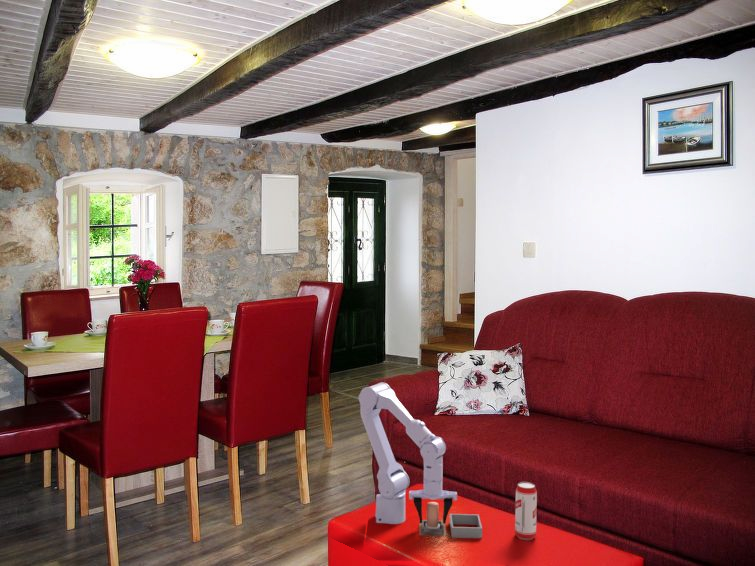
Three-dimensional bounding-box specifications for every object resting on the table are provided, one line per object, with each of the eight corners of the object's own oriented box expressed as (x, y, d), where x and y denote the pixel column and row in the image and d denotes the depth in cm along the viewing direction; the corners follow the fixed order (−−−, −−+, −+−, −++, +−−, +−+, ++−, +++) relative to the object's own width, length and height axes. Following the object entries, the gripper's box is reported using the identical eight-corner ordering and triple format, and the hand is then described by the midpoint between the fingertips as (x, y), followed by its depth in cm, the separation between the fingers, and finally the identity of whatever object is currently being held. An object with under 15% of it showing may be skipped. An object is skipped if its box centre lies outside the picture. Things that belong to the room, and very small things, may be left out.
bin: (451, 540, 199) (451, 527, 199) (449, 526, 209) (449, 513, 209) (482, 541, 199) (482, 528, 198) (478, 527, 209) (478, 514, 208)
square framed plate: (419, 538, 201) (419, 530, 200) (419, 526, 209) (419, 519, 208) (446, 539, 200) (446, 530, 200) (444, 527, 208) (445, 519, 208)
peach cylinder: (425, 532, 202) (425, 506, 202) (425, 526, 207) (425, 501, 206) (440, 532, 202) (440, 507, 202) (439, 526, 206) (439, 501, 206)
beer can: (534, 532, 205) (535, 481, 204) (537, 541, 199) (538, 489, 198) (513, 531, 206) (514, 480, 205) (516, 540, 199) (516, 488, 198)
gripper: (409, 482, 200) (408, 526, 201) (457, 483, 199) (457, 528, 200) (409, 474, 207) (408, 517, 208) (456, 475, 206) (455, 518, 207)
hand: (432, 521), depth 204 cm, fingers open, 6 cm apart
